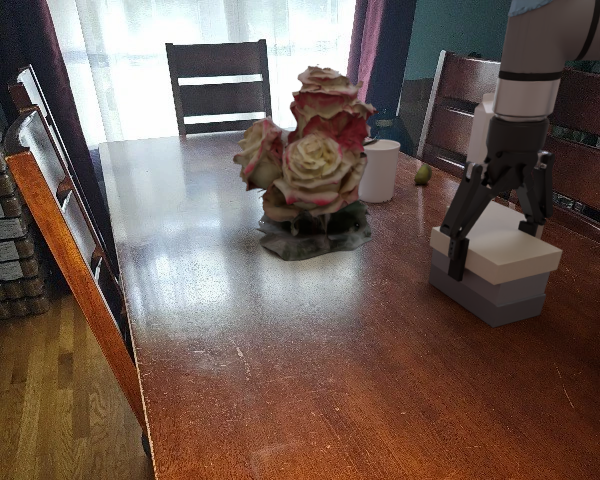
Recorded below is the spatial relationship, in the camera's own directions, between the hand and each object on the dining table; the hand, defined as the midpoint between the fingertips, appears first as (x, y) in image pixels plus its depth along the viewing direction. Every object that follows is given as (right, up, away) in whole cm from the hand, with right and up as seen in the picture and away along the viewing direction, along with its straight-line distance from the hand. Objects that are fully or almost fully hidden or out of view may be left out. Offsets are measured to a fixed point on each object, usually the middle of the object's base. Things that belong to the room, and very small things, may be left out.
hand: (486, 270), depth 81 cm
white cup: (-11, +29, +44) cm, 54 cm away
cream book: (0, +2, -1) cm, 2 cm away
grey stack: (0, -4, +3) cm, 5 cm away
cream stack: (+7, +10, +20) cm, 23 cm away
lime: (+2, +35, +52) cm, 63 cm away
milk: (+13, +28, +42) cm, 52 cm away
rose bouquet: (-27, +14, +26) cm, 40 cm away
